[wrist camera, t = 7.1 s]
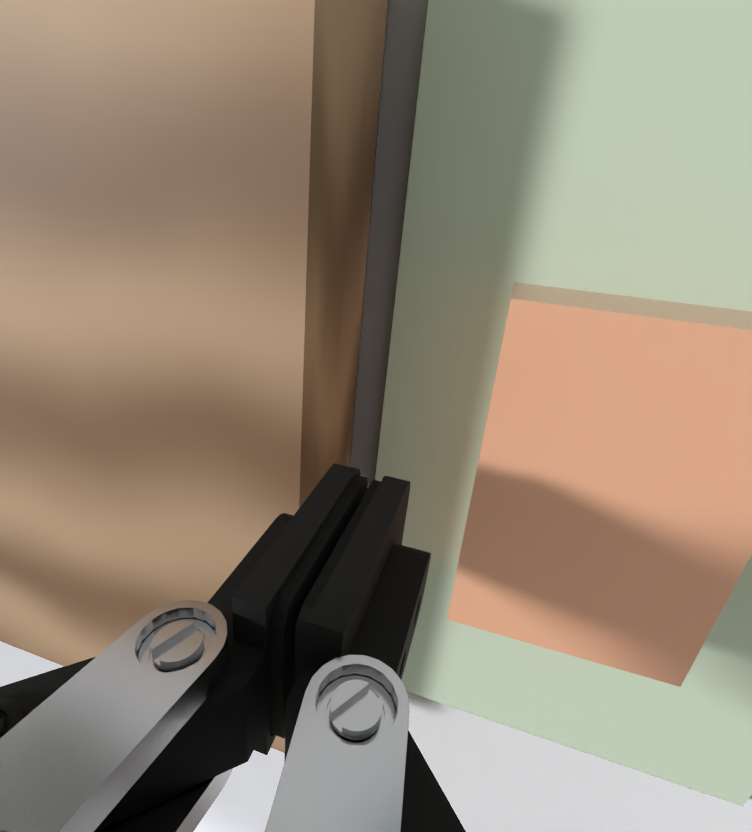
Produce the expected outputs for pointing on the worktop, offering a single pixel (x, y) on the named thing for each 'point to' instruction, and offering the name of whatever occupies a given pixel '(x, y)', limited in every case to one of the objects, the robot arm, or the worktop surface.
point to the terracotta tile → (611, 479)
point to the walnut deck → (172, 292)
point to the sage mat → (571, 269)
